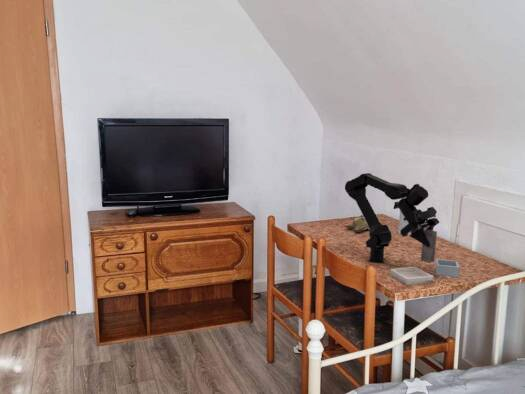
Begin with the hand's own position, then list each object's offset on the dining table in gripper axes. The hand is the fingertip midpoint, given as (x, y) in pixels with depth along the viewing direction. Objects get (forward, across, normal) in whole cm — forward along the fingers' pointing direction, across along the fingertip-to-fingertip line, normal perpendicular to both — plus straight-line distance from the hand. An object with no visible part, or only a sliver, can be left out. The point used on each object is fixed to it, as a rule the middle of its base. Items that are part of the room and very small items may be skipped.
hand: (432, 245), depth 192 cm
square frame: (+10, +12, +9) cm, 18 cm away
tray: (+7, -6, +12) cm, 15 cm away
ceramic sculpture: (-34, +35, +56) cm, 74 cm away
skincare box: (-22, +49, +43) cm, 69 cm away
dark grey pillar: (+4, 0, +6) cm, 7 cm away
